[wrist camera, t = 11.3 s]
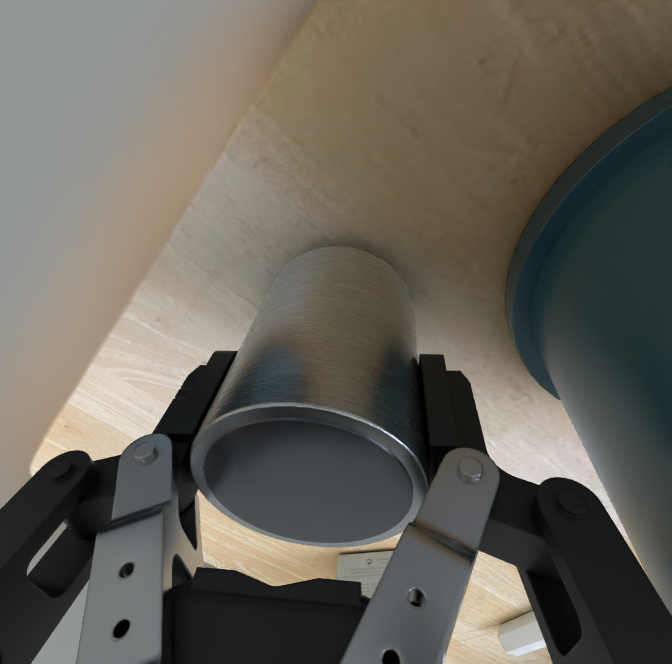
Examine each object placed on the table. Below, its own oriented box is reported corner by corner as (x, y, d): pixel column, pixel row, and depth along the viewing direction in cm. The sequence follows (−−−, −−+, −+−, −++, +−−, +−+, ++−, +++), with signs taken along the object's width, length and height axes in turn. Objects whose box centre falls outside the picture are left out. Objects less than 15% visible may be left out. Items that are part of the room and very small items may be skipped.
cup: (256, 247, 15) (151, 402, 8) (417, 243, 14) (441, 411, 7) (280, 366, 18) (220, 541, 12) (410, 369, 17) (423, 558, 11)
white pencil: (649, 554, 28) (507, 620, 37) (636, 562, 27) (493, 629, 36) (683, 595, 26) (525, 654, 35) (671, 605, 25) (511, 663, 34)
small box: (336, 552, 31) (317, 738, 23) (404, 547, 30) (410, 745, 21) (369, 593, 35) (363, 764, 27) (430, 591, 34) (443, 773, 25)
